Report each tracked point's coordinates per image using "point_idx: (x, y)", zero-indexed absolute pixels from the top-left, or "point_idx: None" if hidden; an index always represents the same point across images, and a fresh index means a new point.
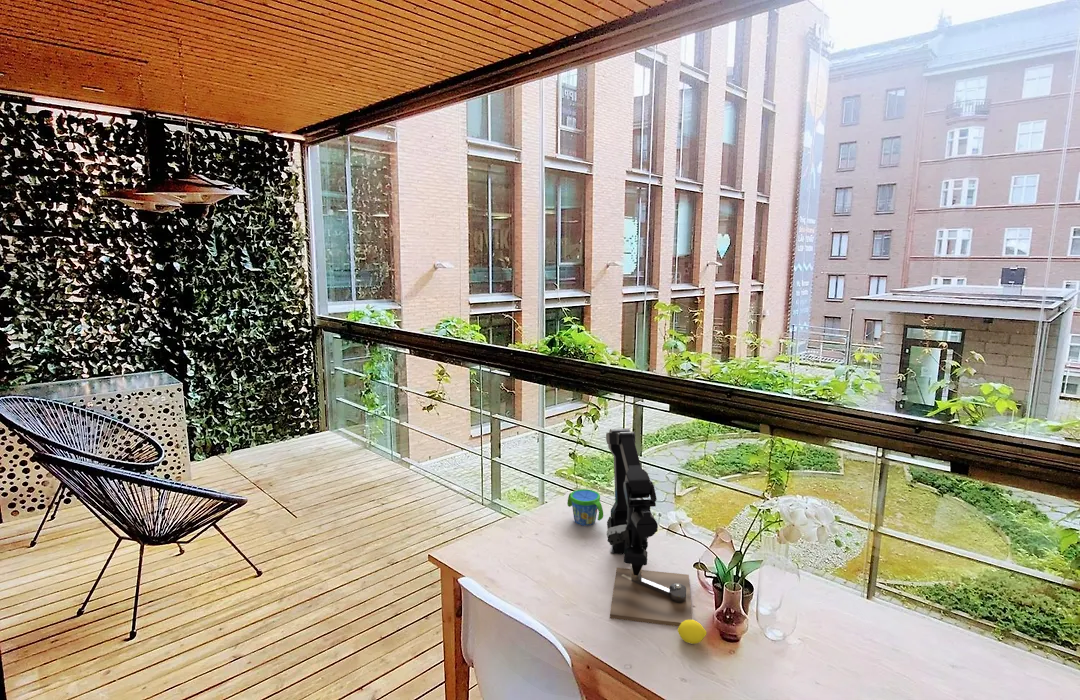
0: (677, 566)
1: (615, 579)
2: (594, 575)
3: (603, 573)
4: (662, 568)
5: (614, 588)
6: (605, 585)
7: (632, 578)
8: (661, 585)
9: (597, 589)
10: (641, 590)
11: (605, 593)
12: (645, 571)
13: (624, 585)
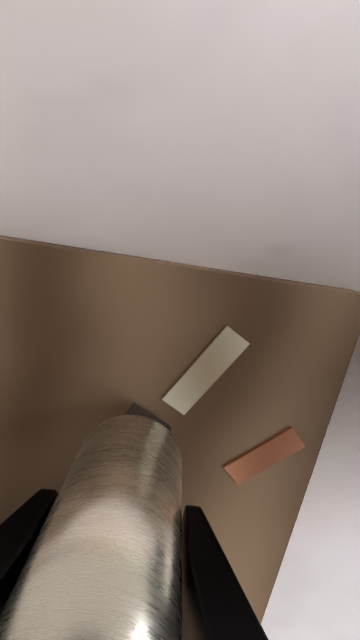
0: (356, 633)
1: (170, 271)
2: (299, 68)
3: (326, 168)
4: (345, 569)
5: (25, 251)
6: (135, 176)
7: (90, 434)
8: None
9: (64, 91)
10: (36, 452)
11: (15, 169)
12: (285, 501)
13: (85, 340)
